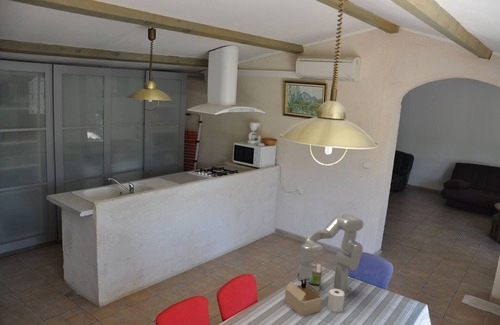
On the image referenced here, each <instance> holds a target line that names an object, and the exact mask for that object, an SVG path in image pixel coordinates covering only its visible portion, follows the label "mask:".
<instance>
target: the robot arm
mask: <svg viewBox="0 0 500 325" xmlns="http://www.w3.org/2000/svg"><path fill="white" fill-rule="evenodd" d="M363 227H364V221H363V220H362V219H361V218H360V217H356V216H354V215H353V214H352V215H351V214H348V213H344V214H342V215H336V216H334V217H333V218H332V219H331V221H330V222H329V223H327V225H326V226H325V227H324V228H323V229H321V230H318V231H316V232H313V233H311V235H310V236H309V237H308V238H307V239H306V241H305V242H304V244H302V245H301V250H300V251H301V252H300V260H299V264H298V267H297V270H296V277H297V280H296V281H298V282H300V283H301V284H300V285H301V287H302V288H303V289H304V288H306V286H307V285H306V283H307V281H308V280H309V279H311V277H312V264H311V263H313V256H314V257H315V256H316V257H317V256H322V254H323V253H324V252H325V249H324V246H323V245H321V244H319V243H318V241H320V240H325V239H327V240H328V239H333V238H335V236H336V235H337V234H338V233H339V231H344V234H343V237H342V240H341V244H340V247H341V250H343V251H339V252H337V253H336V255H335V256H334V260H335V272H334V279H333V280H334V281H333V287H332V288H331V289H334V288H335V289H340V290H342V291H343V292H344V293H345V295H344V298H346V297H348V296H349V291H348V290H352V286H348V280H349V272H350V271H356V270H357V269H358V267H359V265H360V261H361V258H362V255H363V249H364V248H363V245H362V244H361V243H360V242H358V241H356V238H357V235H358V234H357V231H358V232H359V231H360V230H362V229H363Z"/></svg>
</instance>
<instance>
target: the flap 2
mask: <svg viewBox="0 0 500 325" xmlns="http://www.w3.org/2000/svg"><path fill="white" fill-rule="evenodd" d="M306 286H308V287H309V288H311V290H313V291H314V292H315V293H316V294H318V295H319V296H320V297H322V295H321V293H320V290H317V289H315V288H314V287H313V286H311V285H310V284H309V283H306Z"/></svg>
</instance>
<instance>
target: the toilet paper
mask: <svg viewBox="0 0 500 325" xmlns="http://www.w3.org/2000/svg"><path fill="white" fill-rule="evenodd" d="M333 288H334V287H333ZM344 295H345V293H344V292H343V291H342V290H340V289H335V288H334V289H332V288H331V289H329V290H328V299H327V309H328V310H329V311H331V312H333V313H341V312H342V311H344V310H343V309H344V302H345V297H344Z"/></svg>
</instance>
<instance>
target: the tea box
mask: <svg viewBox="0 0 500 325" xmlns="http://www.w3.org/2000/svg"><path fill="white" fill-rule="evenodd" d="M311 264H312V277H311V279H309V280H308V281H307V283H309V284H310V285H311V286H313V287H314V288H315V289H317V290H318V291H321V290H320V289H321V282H322V274H323V264H320V263H315V262H311ZM306 286H307V285H306ZM307 287H308V286H307ZM310 289H311V288H310ZM311 290H312V289H311Z"/></svg>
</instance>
